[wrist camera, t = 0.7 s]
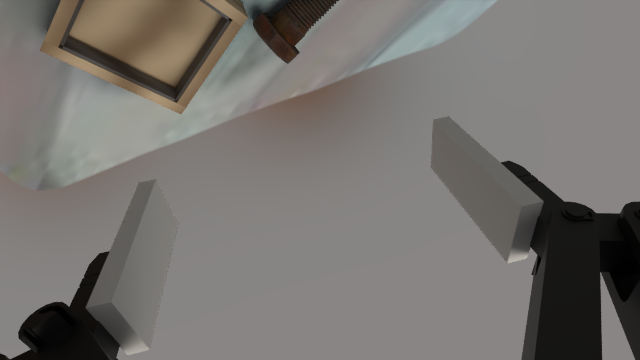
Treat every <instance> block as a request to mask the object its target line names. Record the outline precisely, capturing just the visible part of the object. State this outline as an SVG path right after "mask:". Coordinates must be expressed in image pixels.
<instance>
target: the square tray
mask: <svg viewBox="0 0 640 360" xmlns="http://www.w3.org/2000/svg"><path fill="white" fill-rule="evenodd" d="M247 18H248V16H247V13H246V11H245V8H244V5H243V3H242V2H240V1H239V0H61V1H60V4H59V6H58V9H57V11H56V13H55V16H54V18H53V20H52V23H51V25H50V28H49V30H48V32H47V35H46V37H45V39H44V42H43V44H42V47H41V49H40V51H42V52H44V53H46V54H48V55H51V56H53V57H55V58H57V59H60V60H62V61H64V62H66V63H68V64H71V65H73V66H75V67H77V68H80V69H82V70H84V71H86V72H88V73H91V74H93V75H95V76H97V77H100V78H102V79H104V80H106V81H108V82H111V83H113V84H115V85H117V86H119V87H122V88H124V89H126V90H128V91H131V92H133V93H135V94H137V95H139V96H142V97H144V98H146V99H148V100H151V101H153V102H155V103H157V104H159V105H162V106H164V107H166V108H168V109H171V110H173V111H175V112H177V113H179V114H182V112H183V111H184V110H185V108H186V107H187V105H188V104H189V102H190V101H191V99H192V98H193V97H194V95H195V94H196V92H197V91H198V89H199V88H200V86H201V85H202V83H203V82H204V81H205V79H206V78H207V76H208V75H209V73H210V72H211V70H212V69H213V67H214V66H215V65H216V63H217V62H218V60H219V59H220V57H221V56H222V54H223V53H224V51H225V50H226V49H227V47H228V46H229V44H230V43H231V41H232V40H233V38H234V37H235V36H236V34H237V33H238V31H239V30H240V28H241V27H242V25H243V24H244V22H245V21H246V20H247Z"/></svg>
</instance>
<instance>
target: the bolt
mask: <svg viewBox="0 0 640 360" xmlns="http://www.w3.org/2000/svg"><path fill="white" fill-rule="evenodd" d="M336 1H339V0H293V1H290V3H291V4H290V3H287V4H288V6H285V7H284V8H281V9H280V10H279V11H278V12H277V13H276V14H275V15H274V16H273V17H272V18H270V17H269V16H268V15H267V14H264V13H261V14H260V15H259V16H258V17H257V18H256V19H255V20H254V21H253V25H254V28H255V30H256V31H257V33H258V35H259V36H260V37H261V38H262V39H263V41H264V42H265V43H266V44H267V45H268V46H269V47H270V48H271V50H272V51H273V52H274V53H275V54H276V55H277V56H278V57H279V58H281V59H282V60H283V61H284V62H286V63H287V64H288V63H289V62H291V61H292V60H293V59H294V58H295V57H296V56H297V55H298V54H299V53H300V52H299V51H298V50H297V49H296V47H295V45H296V44H297V43H298V42H299V41H300V40H301V39H302V38H303V37H304V36H305V34H306V32H307V31H309V28H310V29H311V25H312V26H314V24H313V23H315V24H316V21H319V20H318V18H319V19H321V16H324V14H326V11H329V9H331V6H334V4H336Z"/></svg>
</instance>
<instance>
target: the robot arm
mask: <svg viewBox="0 0 640 360" xmlns="http://www.w3.org/2000/svg"><path fill="white" fill-rule="evenodd" d="M431 168H432V169H433V171H434V172H435V173H436V174H437V176H438V177H439V178H440V179H441V181H442V182H443V183H444V184H445V186H446V187H447V188H448V189H449V191H450V192H451V193H452V194H453V196H454V197H455V198H456V200H457V201H458V202H459V203H460V204H461V206H462V207H463V208H464V209H465V211H466V212H467V213H468V215H469V216H470V217H471V218H472V220H473V221H474V222H475V223H476V225H477V226H478V227H479V228H480V230H481V231H482V232H483V233H484V235H485V236H486V237H487V238H488V240H489V241H490V242H491V243H492V245H493V246H494V247H495V248H496V250H497V251H498V252H499V253H500V255H501V256H502V257H503V258H504V260H505V261H506V262H507V263H511V262H515V261H519V260H523V259H527V257H528V253H529V250H530V247H531V248H532V249H533V250H534V251H535V252H536V254H537V258H536V262H535V265H534V268H533V271H532V275H534V276H533V284H532V291H531V297H530V304H529V311H528V318H527V325H526V333H525V340H524V347H523V353H522V360H602V335H601V290H600V272H601V273H602V276H603V279H604V281H605V284H606V286H607V289H608V291H609V294H610V296H611V299H612V302H613V304H614V306H615V309H616V312H617V314H618V317H619V319H620V322H621V324H622V327H623V330H624V332H625V335H626V337H627V340H628V342H629V345H630V347H631V350H632V352H633V355H634V357H635V360H640V202H631V203H628V204H626V205H625V206H624V207H623V209H622V211H621V213H620V214H610V213H608V214H607V213H595V212H594V211H593V210H592V209H590V208H588V207H587V206H585V205H582V204H579V203H575V202H564V201H563V200H562V199H561V198H559V197H558V196H557V195H556V194H555V193H553V192H552V191H551V190H550V189H549V188H547V187H546V186H545V185H544V184H543V183H541V182H540V181H538V179H537V178H536V177H534V176H533V175H531V173H530V172H528V171H527V170H526V169H525V168H524V167H522V166H520V165H518V164H516V163H513V162H511V161H506V162H501V163H500V162H499V161H498V160H497V159H496V158H495V157H493V156H492V155H491V154H490V153H489V152H488V151H487V150H486V149H485V148H483V147H482V146H481V145H480V144H479V143H478V142H477V141H476V140H474V139H473V138H472V137H471V136H470V135H469V134H468V133H467V132H466V131H464V130H463V129H462V128H461V127H460V126H459V125H458V124H457V123H455V122H454V121H453V120H452V119H451V118H450V117H449V116H448V117H443V118H439V119H434V120H433V134H432V155H431ZM178 224H179V223H178V222H177V219H176V218H175V216H174V214H173V212H172V210H171V208H170V206H169V204H168V202H167V200H166V198H165V196H164V194H163V192H162V190H161V188H160V186H159V185H158V183H157V180H156V179H155V180H150V181H145V182H141V183H139V184H138V186H137V188H136V191H135V193H134V196H133V198H132V200H131V203H130V205H129V207H128V210H127V212H126V215H125V217H124V219H123V221H122V224H121V226H120V229H119V231H118V233H117V235H116V238H115V240H114V242H113V245H112V247H111V249H110V251H108V252H104V253H100V254H99V255H98V256H97V257H96V258H95V259H94V260H93V261H92V262H91V263H90V264H89V266H88V268H87V271H86V273H85V275H84V278H83V279H82V281H81V283H80V285H79V286H80V288H78V290H77V292H76V294H75V296H74V298H73V300H72V302H71V305H70V307H68V306H67V305H66V304H65V303H63V302H54V303H50V304H47V305H45V306H43V307H41V308H40V309H38V310H36V311H35V312H34V313H33V314H31V315H30V316H29V317H28V318H27V319H26V320H25V322H24V323H23V324H22V326H21V328H20V330H19V332H18V334H19V339H20V340H21V341H22V342H23V343H25V344H26V345H27V346H28V347H29V348H31V350H29V351H27V352H25V353H23V354H21V355H18V356H16V357H14V358H12V359H9V358H7V357H6V356H5V355H3V354H0V360H118V359H117V358H116V356H117V353H118V350H119V347H121V348H122V349H123V351H124V352H125V353H126V354H127V355H130V354H134V353H138V352H142V351H147V350H150V346H151V342H152V338H153V333H154V328H155V324H156V320H157V316H158V311H159V307H160V303H161V298H162V294H163V289H164V285H165V280H166V276H167V272H168V268H169V263H170V259H171V254H172V250H173V246H174V241H175V237H176V233H177V228H178Z"/></svg>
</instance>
